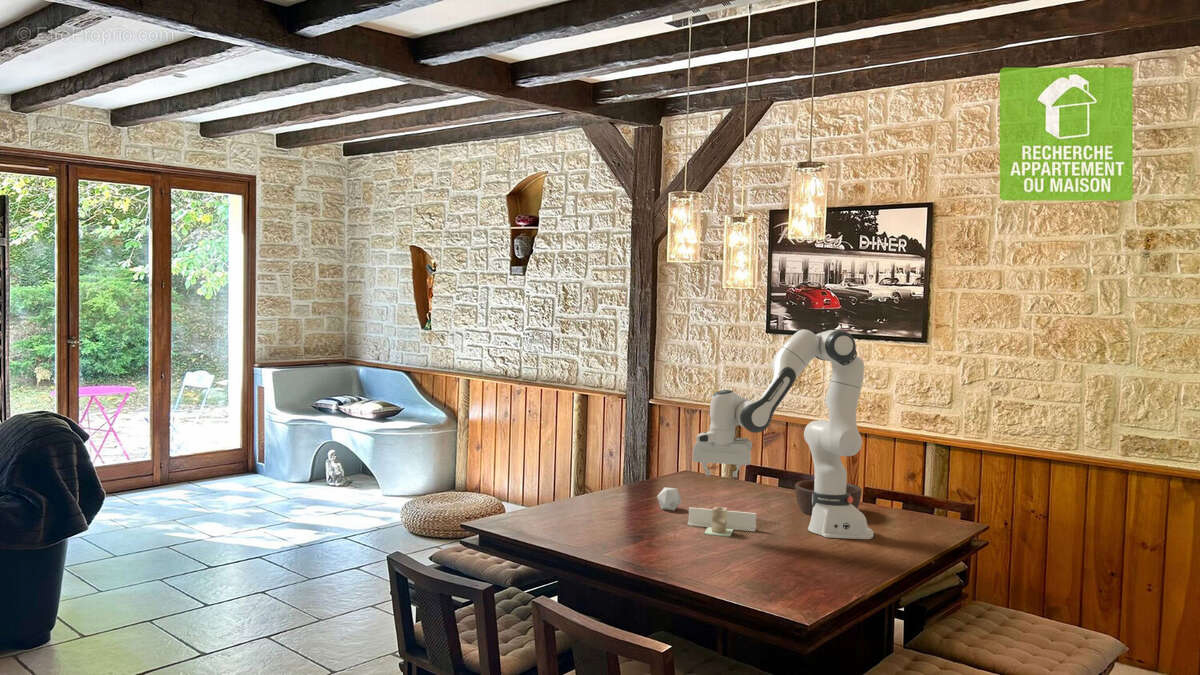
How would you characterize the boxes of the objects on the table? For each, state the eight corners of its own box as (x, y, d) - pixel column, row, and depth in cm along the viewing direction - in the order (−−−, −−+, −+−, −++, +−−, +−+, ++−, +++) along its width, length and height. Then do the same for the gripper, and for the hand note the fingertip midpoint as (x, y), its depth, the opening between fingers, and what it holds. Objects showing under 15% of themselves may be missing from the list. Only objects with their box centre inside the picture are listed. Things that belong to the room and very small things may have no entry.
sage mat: (733, 530, 320) (733, 529, 320) (730, 536, 311) (730, 535, 311) (707, 527, 322) (708, 526, 322) (704, 534, 314) (704, 533, 314)
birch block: (726, 530, 318) (727, 507, 318) (724, 533, 314) (725, 510, 314) (713, 529, 320) (714, 506, 319) (711, 532, 315) (712, 509, 315)
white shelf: (756, 528, 323) (756, 512, 323) (754, 531, 319) (755, 514, 319) (689, 522, 329) (690, 506, 329) (687, 525, 325) (688, 508, 325)
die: (666, 514, 343) (682, 494, 343) (649, 500, 348) (665, 479, 348) (673, 518, 351) (689, 497, 351) (656, 503, 355) (672, 483, 355)
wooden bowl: (868, 521, 339) (869, 494, 338) (801, 519, 339) (802, 492, 339) (851, 505, 364) (852, 480, 363) (788, 504, 364) (789, 478, 364)
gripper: (753, 437, 316) (752, 476, 316) (694, 433, 321) (694, 472, 322) (751, 439, 310) (750, 479, 310) (691, 436, 315) (691, 475, 316)
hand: (721, 476), depth 316 cm, fingers open, 8 cm apart
